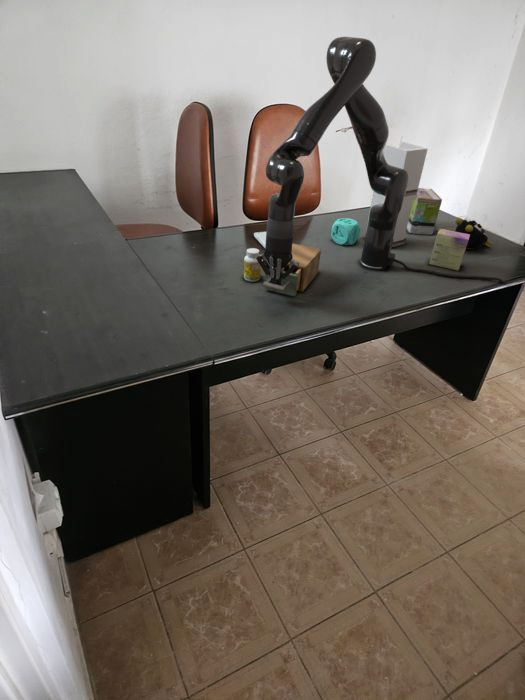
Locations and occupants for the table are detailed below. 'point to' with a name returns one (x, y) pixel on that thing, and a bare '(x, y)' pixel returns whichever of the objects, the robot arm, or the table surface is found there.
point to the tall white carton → (413, 163)
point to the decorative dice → (345, 231)
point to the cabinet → (306, 262)
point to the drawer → (286, 282)
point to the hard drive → (261, 238)
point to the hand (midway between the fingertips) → (275, 288)
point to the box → (449, 249)
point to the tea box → (424, 212)
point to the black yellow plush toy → (472, 233)
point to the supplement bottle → (252, 265)
